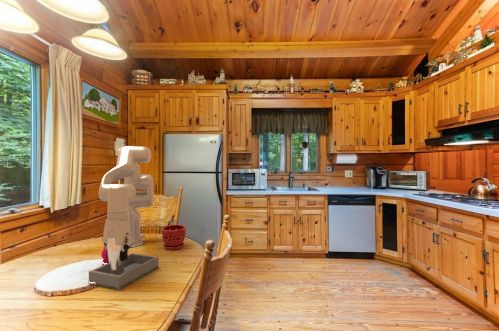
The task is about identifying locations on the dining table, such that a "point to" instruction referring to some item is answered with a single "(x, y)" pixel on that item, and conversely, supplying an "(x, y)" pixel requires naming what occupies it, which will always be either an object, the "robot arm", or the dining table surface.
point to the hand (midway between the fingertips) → (117, 258)
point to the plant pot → (173, 236)
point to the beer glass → (114, 258)
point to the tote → (134, 270)
